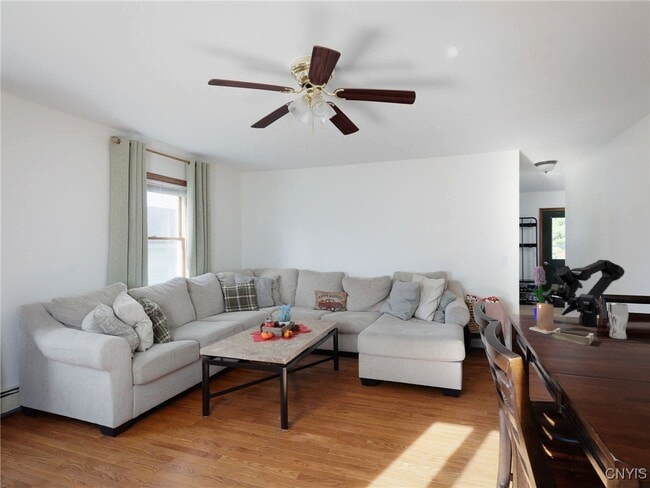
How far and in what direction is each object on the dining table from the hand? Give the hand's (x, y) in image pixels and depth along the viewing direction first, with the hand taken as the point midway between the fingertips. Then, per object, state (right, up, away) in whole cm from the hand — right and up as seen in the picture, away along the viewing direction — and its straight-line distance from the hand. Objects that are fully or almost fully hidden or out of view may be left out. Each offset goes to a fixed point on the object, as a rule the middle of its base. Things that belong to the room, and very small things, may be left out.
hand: (553, 312), depth 168 cm
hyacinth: (+7, -8, +19) cm, 22 cm away
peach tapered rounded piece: (-5, -7, -2) cm, 9 cm away
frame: (-3, -8, -17) cm, 19 cm away
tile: (-5, -8, -2) cm, 10 cm away
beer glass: (+20, -8, -14) cm, 26 cm away
